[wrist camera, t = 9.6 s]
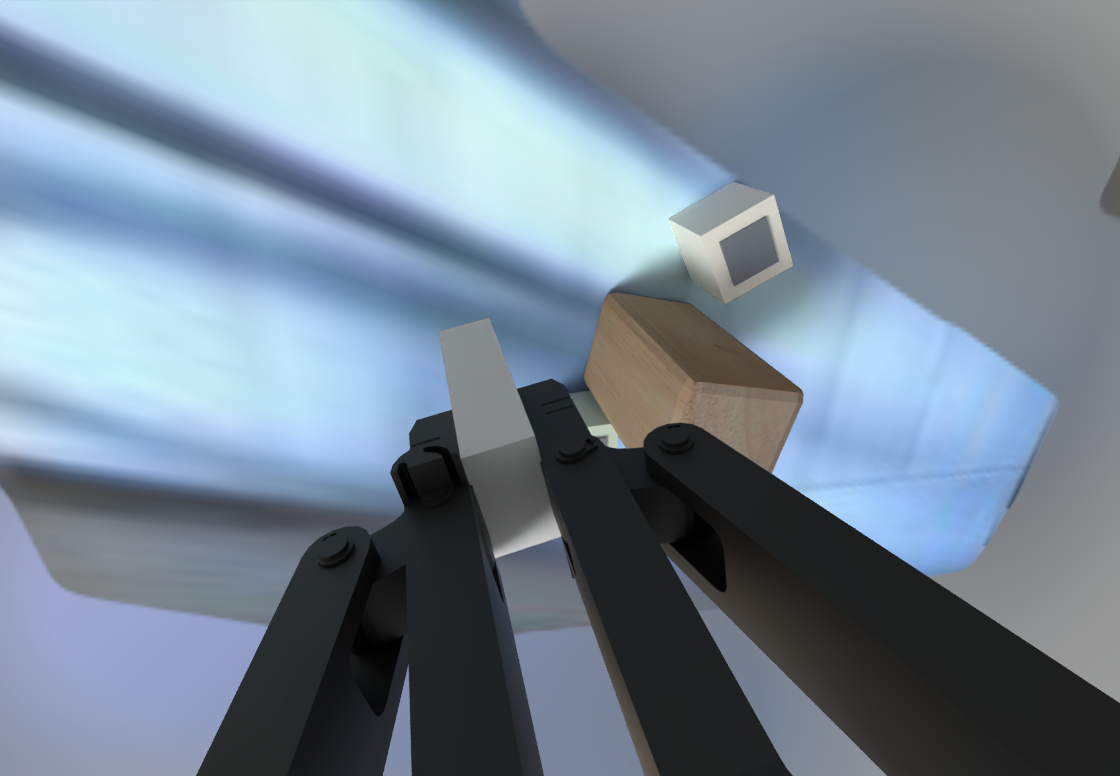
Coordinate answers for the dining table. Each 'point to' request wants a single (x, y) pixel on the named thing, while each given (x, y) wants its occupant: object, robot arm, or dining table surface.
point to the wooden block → (686, 378)
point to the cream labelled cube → (732, 241)
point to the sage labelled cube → (595, 418)
